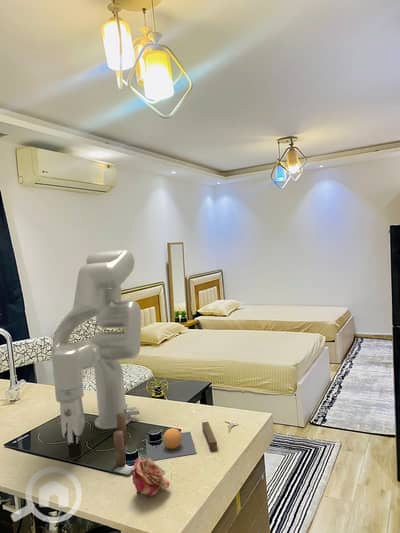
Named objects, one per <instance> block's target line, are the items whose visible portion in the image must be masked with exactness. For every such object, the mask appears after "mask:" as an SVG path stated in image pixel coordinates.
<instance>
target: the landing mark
mask: <svg viewBox="0 0 400 533" xmlns="http://www.w3.org/2000/svg"><path fill="white" fill-rule="evenodd" d="M180 433H181V436H182V441H181V444H180V445H179V446H178V447H177V448H175V449H169V448H167V447H166V446H165V445H164V443H163V442H162V443H161V444H160V445H157V446H158V447H157V446H155V445H154V446H152V445H150V444H148V442H147V438H148V437H146V438H145V452H146V453H145V454H146V458H147V459H149V458H150V459H151V460H152V462H153V460H154V462H155V461H159V460H168V459H172V458H179V457H186V456H191V455H196V454H197V450H196V446H195V443H194V439H193V437H192V433H191V431H185V432H180ZM156 447H157V448H156ZM154 449H155V450H154Z"/></svg>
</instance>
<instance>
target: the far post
mask: <svg viewBox="0 0 400 533" xmlns="http://www.w3.org/2000/svg"><path fill="white" fill-rule="evenodd" d="M116 420H117V428H116V429H117V431H123V437H124V446H125V445H127V444H128V437H127V426H126V425H127V424H126V423H125V414H124V413H119V414H117V415H116Z"/></svg>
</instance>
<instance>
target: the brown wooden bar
mask: <svg viewBox="0 0 400 533" xmlns="http://www.w3.org/2000/svg"><path fill="white" fill-rule="evenodd" d="M201 427H202V432H203V435H204V438H205V441H206V443H207V446H208V448H209V451H210V452H215V451H218V444H217V442H218V441H217V440H216V437H215V435H214V432H213V430H212V428H211V425H210V422H209V421H203V422H201Z"/></svg>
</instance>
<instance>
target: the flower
mask: <svg viewBox="0 0 400 533" xmlns="http://www.w3.org/2000/svg"><path fill="white" fill-rule="evenodd" d="M130 470H131V471H130V472H131V476H132V483H133V485H134V487H135V489H136V490H135V491H136V492H135V493H136V496H139V497H141V496H142V495H143V494H144V495H145V497H148V498H150V499H153V500H155V499H154V497H153V496H155V495H157V494H160V493H161V492H160V490H166V489H168V488H170V484H171V483H170V481H169V480H167V479H166V478H165V477H164V476H165V475H166V471H165V470H163V468H162V467H160V466H159V465H158V464H156V463H155V461H154V460H153V461H152V460H151V459H150V458H149V459H147V457H145V458H143V457H141V458H136V459H135V460H134V464H133V467H132V468H130ZM159 489H160V490H159ZM155 501H156V500H155Z"/></svg>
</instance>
